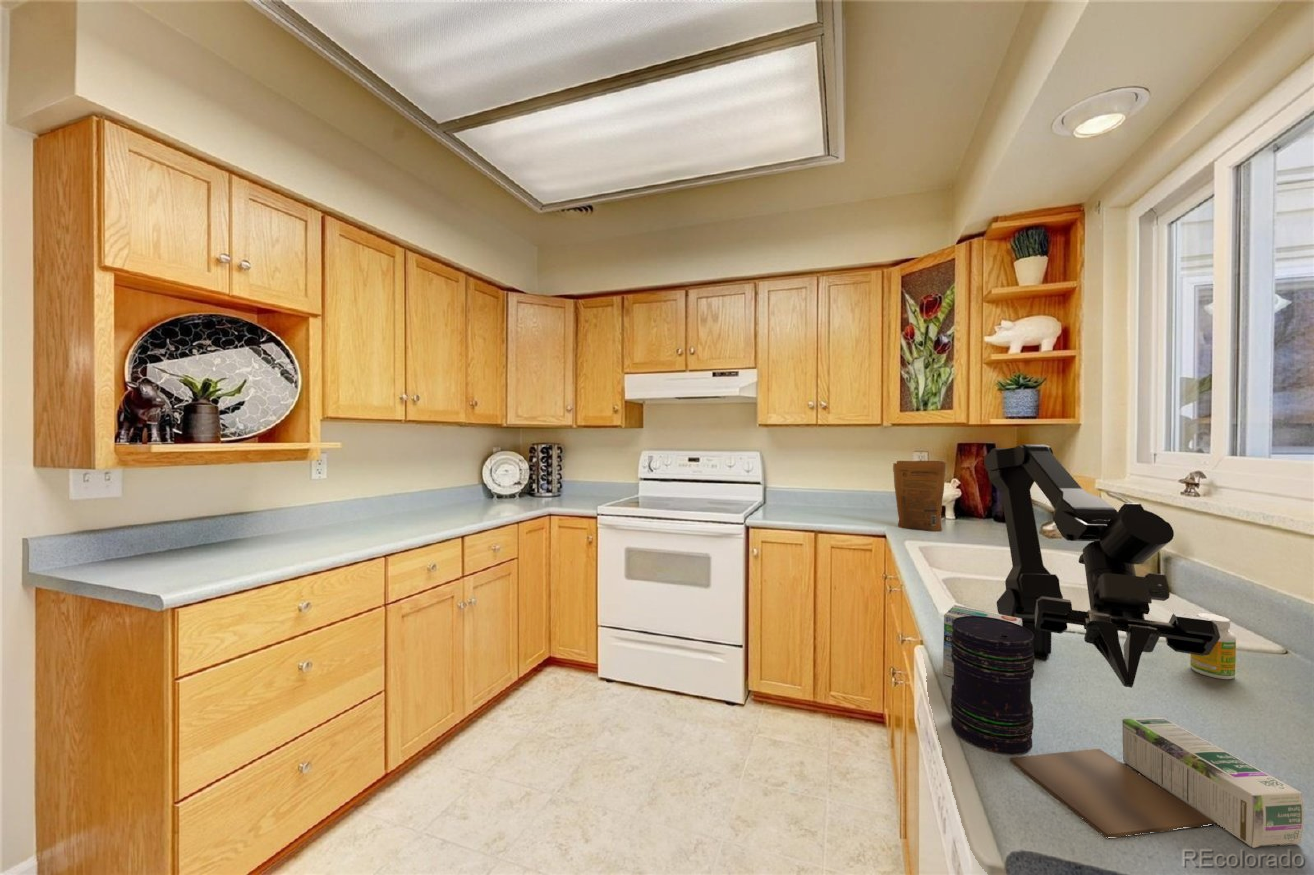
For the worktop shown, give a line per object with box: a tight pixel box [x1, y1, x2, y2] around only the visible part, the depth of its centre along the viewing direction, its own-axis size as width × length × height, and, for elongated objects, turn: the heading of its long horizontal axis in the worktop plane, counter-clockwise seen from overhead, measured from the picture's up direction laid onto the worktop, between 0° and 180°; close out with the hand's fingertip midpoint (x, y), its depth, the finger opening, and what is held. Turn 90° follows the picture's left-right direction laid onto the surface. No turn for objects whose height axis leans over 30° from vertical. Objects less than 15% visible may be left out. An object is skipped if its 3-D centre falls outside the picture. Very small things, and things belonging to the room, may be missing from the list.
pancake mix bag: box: [892, 460, 947, 532], centre depth 216 cm, size 7×19×28 cm, turn 55°
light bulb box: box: [942, 604, 1022, 678], centre depth 91 cm, size 11×7×11 cm, turn 47°
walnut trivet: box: [1009, 748, 1215, 839], centre depth 63 cm, size 13×13×1 cm
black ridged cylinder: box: [950, 616, 1035, 756], centre depth 75 cm, size 10×10×15 cm
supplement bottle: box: [1189, 612, 1237, 680], centre depth 93 cm, size 5×5×10 cm
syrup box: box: [1122, 716, 1305, 849], centre depth 62 cm, size 6×6×14 cm
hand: (1128, 685), depth 69 cm, fingers closed
